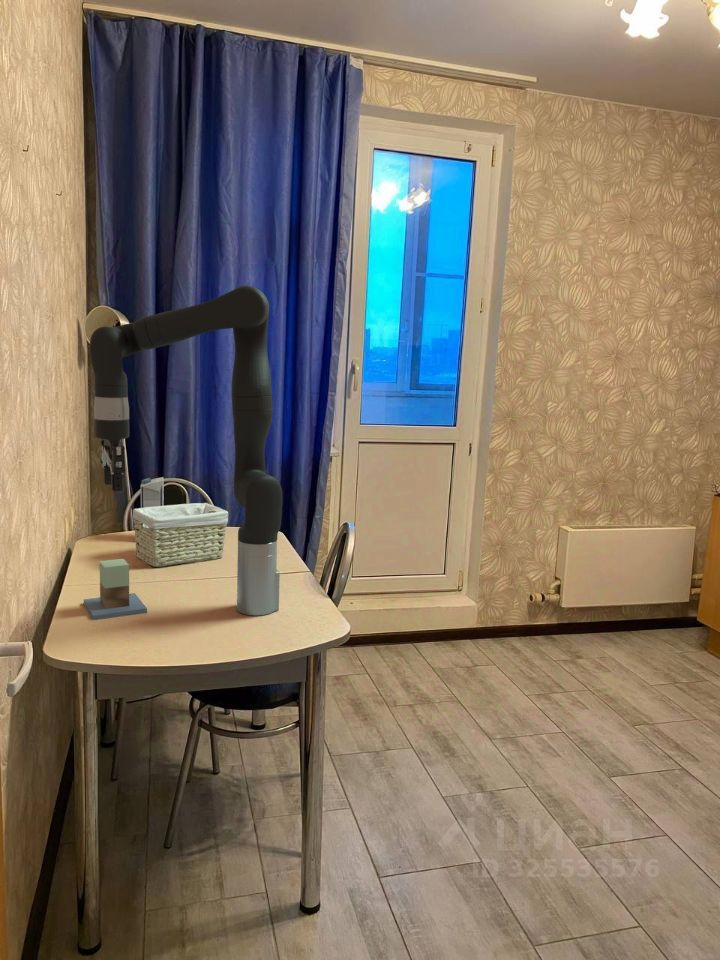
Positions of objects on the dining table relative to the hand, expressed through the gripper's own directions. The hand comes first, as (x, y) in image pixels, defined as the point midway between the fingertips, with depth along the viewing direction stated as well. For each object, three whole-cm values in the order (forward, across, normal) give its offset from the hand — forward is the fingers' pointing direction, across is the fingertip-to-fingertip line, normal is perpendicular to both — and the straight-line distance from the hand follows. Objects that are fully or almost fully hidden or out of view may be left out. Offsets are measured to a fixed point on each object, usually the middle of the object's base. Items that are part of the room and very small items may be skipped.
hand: (112, 487), depth 169 cm
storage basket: (+29, +36, -26) cm, 53 cm away
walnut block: (+28, 0, 0) cm, 28 cm away
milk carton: (+29, +59, -24) cm, 70 cm away
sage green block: (+23, 0, 0) cm, 23 cm away
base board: (+29, 0, 0) cm, 29 cm away
